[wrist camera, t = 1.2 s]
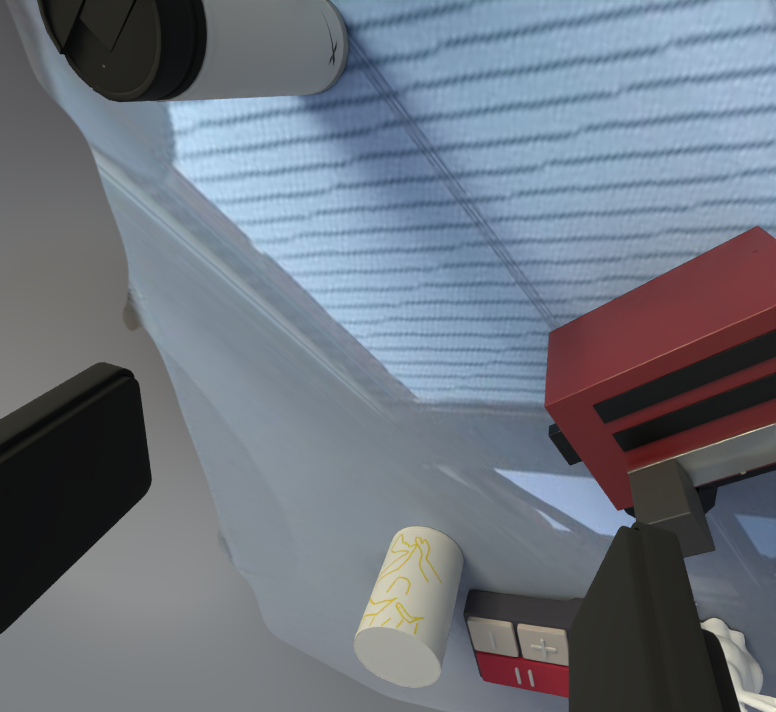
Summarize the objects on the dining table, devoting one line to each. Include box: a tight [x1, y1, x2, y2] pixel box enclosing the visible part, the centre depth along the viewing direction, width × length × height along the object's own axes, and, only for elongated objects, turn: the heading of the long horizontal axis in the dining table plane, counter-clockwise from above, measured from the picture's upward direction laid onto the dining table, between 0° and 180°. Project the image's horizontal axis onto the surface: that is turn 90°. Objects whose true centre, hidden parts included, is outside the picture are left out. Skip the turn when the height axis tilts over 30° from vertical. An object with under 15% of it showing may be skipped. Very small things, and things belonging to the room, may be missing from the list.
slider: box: [629, 459, 715, 558], centre depth 29 cm, size 3×3×4 cm
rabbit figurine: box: [694, 599, 776, 712], centre depth 45 cm, size 12×8×10 cm, turn 22°
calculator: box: [463, 590, 584, 698], centre depth 54 cm, size 11×4×15 cm
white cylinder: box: [354, 526, 464, 688], centre depth 51 cm, size 8×8×12 cm
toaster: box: [544, 226, 776, 511], centre depth 33 cm, size 17×9×11 cm, turn 129°
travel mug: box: [37, 0, 349, 102], centre depth 28 cm, size 6×7×20 cm
